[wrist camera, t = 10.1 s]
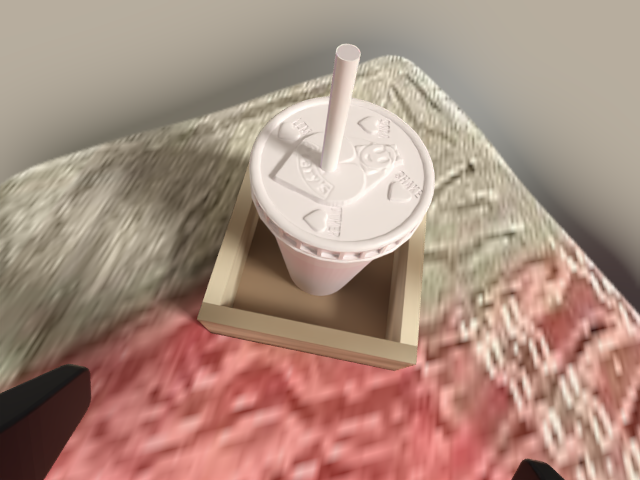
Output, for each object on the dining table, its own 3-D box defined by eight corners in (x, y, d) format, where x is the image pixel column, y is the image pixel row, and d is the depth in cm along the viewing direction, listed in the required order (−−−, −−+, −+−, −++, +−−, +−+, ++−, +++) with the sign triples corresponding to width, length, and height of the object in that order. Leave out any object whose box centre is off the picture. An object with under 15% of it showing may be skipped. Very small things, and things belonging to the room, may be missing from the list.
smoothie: (253, 228, 21) (204, -26, 9) (354, 206, 23) (440, -46, 10) (279, 334, 19) (263, 197, 6) (390, 302, 20) (565, 135, 8)
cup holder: (394, 370, 19) (416, 364, 16) (211, 332, 19) (196, 319, 16) (409, 210, 24) (428, 180, 20) (258, 179, 23) (254, 144, 20)
